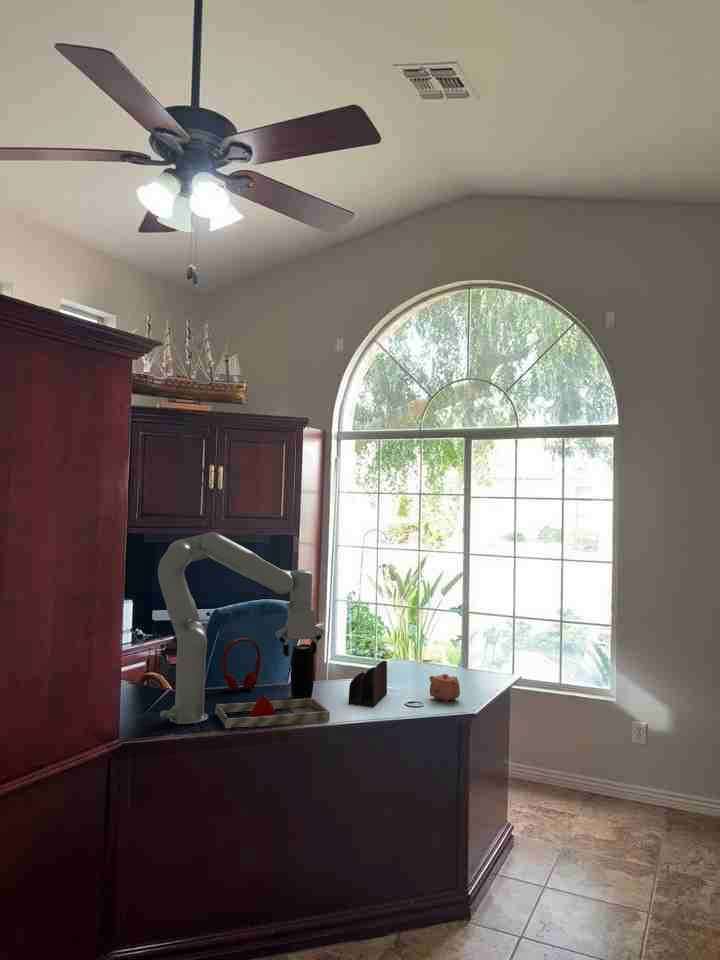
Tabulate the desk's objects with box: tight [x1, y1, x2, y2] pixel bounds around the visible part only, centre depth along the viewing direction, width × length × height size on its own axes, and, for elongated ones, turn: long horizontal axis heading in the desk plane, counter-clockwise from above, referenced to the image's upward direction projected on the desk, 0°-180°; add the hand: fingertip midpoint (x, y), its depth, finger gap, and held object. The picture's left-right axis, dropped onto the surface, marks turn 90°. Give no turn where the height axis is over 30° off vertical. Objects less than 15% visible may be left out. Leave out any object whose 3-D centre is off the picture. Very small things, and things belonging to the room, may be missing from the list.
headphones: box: [221, 637, 261, 692], centre depth 289 cm, size 15×7×20 cm, turn 118°
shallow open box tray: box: [215, 697, 331, 729], centre depth 255 cm, size 36×18×4 cm, turn 112°
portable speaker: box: [289, 643, 315, 700], centre depth 281 cm, size 9×9×20 cm
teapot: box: [429, 673, 461, 703], centre depth 285 cm, size 12×12×10 cm
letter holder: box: [348, 660, 388, 708], centre depth 282 cm, size 10×20×14 cm, turn 164°
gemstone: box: [248, 695, 276, 717], centre depth 252 cm, size 9×9×10 cm
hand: (299, 655), depth 260 cm, fingers open, 9 cm apart
